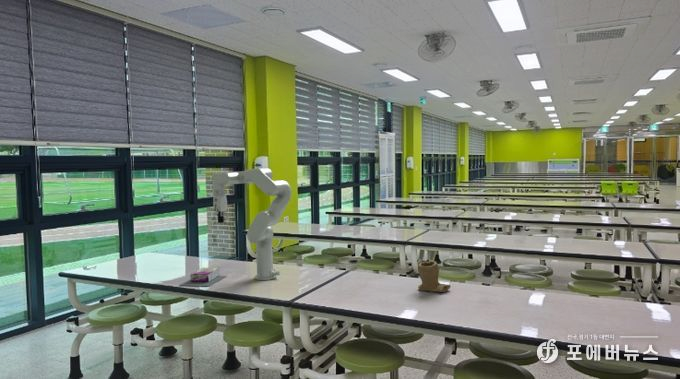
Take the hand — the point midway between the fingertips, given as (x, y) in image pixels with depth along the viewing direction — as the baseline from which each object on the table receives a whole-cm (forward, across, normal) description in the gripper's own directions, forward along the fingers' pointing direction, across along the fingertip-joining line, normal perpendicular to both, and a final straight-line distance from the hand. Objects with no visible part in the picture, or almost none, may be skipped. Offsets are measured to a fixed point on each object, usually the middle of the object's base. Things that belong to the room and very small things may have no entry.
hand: (220, 222), depth 276 cm
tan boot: (+32, -23, -127) cm, 133 cm away
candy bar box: (+29, -22, +4) cm, 36 cm away
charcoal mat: (+32, -17, +4) cm, 37 cm away
